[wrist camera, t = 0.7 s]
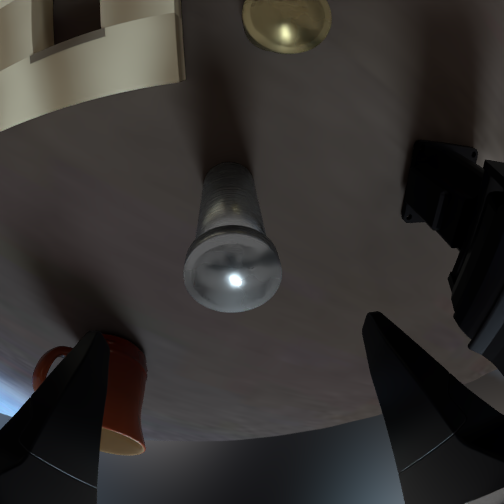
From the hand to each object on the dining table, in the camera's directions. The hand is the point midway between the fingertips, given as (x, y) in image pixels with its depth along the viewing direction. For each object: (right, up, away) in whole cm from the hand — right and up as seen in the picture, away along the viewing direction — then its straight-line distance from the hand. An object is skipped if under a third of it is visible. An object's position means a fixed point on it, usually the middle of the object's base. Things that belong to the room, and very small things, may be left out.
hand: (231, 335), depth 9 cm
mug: (-14, -6, +18) cm, 24 cm away
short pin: (+2, +15, +4) cm, 16 cm away
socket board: (-9, +17, +2) cm, 19 cm away
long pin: (-1, +7, +10) cm, 12 cm away
